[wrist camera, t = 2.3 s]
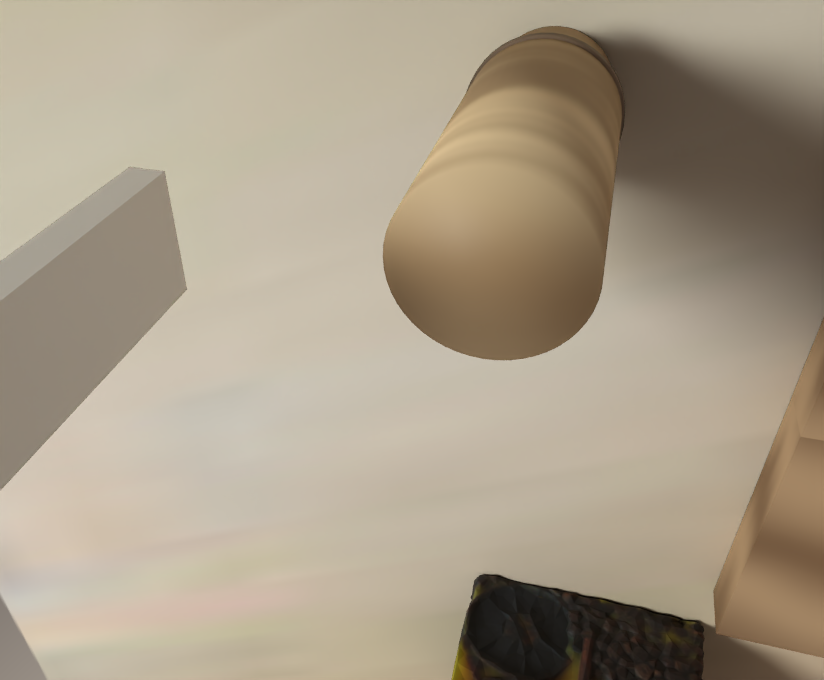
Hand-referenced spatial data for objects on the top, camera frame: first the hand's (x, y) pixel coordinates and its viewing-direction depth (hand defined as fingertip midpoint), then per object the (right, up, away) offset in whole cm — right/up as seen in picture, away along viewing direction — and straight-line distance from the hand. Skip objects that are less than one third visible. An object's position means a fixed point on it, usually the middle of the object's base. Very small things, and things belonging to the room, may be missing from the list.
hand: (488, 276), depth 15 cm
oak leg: (+2, +6, +7) cm, 10 cm away
